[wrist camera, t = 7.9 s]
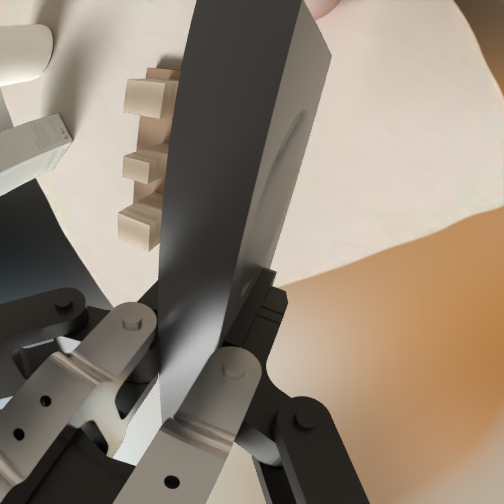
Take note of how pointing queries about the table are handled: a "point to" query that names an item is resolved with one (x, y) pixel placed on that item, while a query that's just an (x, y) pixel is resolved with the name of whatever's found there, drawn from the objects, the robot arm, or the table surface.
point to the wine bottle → (24, 52)
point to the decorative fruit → (320, 7)
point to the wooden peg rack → (148, 155)
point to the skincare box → (31, 150)
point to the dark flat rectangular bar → (230, 170)
